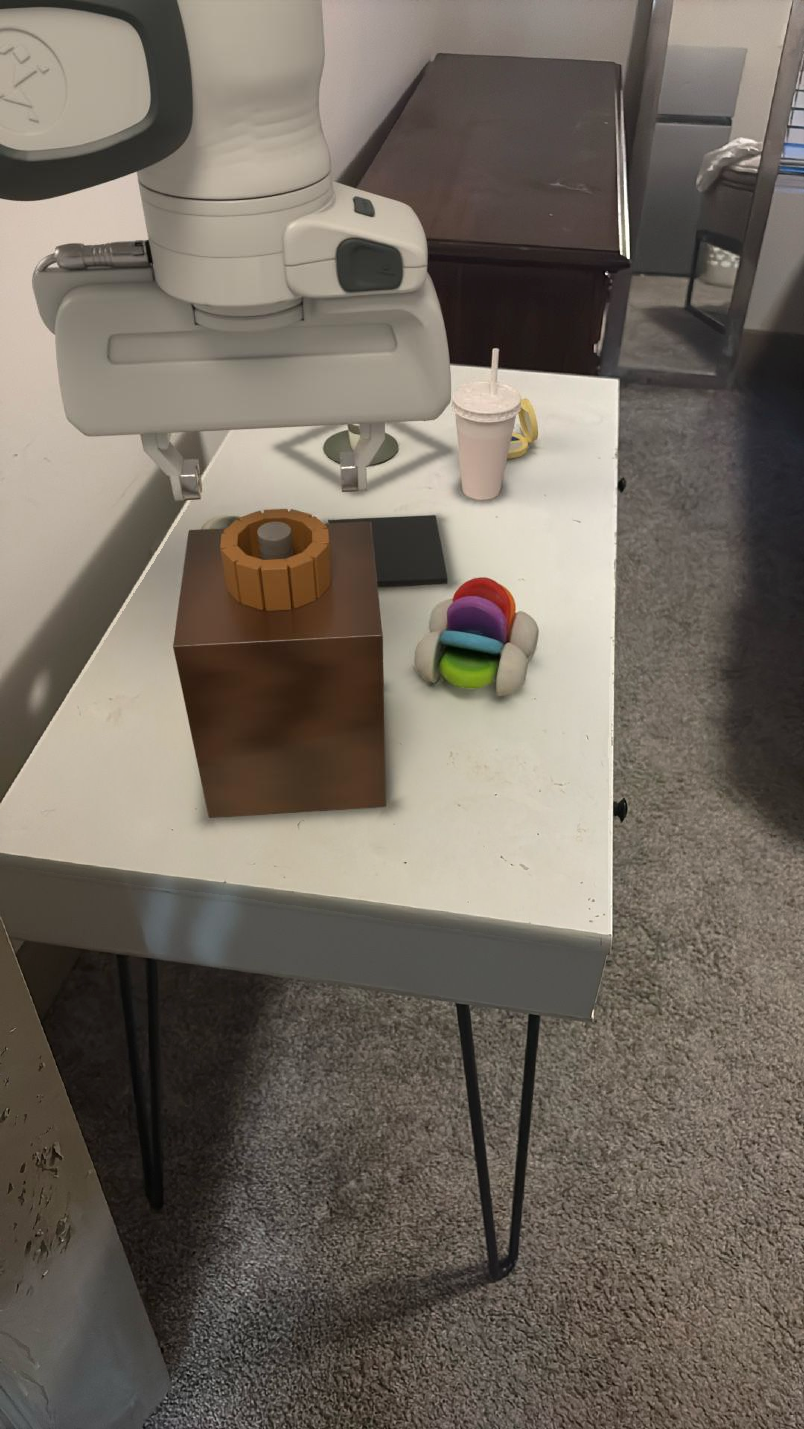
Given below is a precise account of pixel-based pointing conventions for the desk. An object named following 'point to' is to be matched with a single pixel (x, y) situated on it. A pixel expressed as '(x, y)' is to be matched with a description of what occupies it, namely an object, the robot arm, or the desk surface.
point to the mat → (406, 550)
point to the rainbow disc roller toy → (478, 639)
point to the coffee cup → (349, 440)
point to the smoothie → (484, 432)
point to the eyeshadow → (524, 430)
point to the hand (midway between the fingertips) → (271, 491)
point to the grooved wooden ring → (276, 561)
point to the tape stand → (284, 682)
